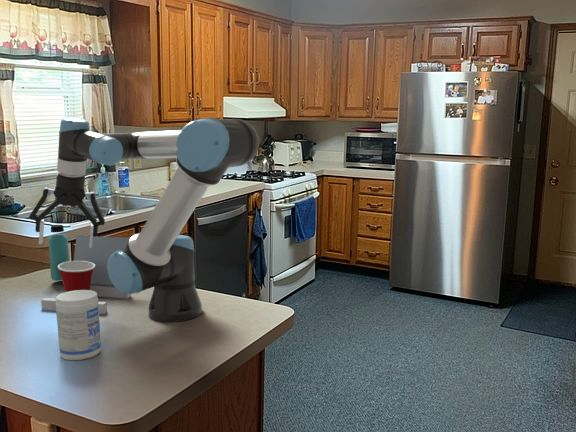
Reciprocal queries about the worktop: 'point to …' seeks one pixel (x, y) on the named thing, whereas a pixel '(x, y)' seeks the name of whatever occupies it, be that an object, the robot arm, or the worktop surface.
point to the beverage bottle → (57, 251)
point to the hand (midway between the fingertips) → (66, 244)
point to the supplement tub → (78, 324)
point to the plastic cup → (76, 275)
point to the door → (98, 255)
